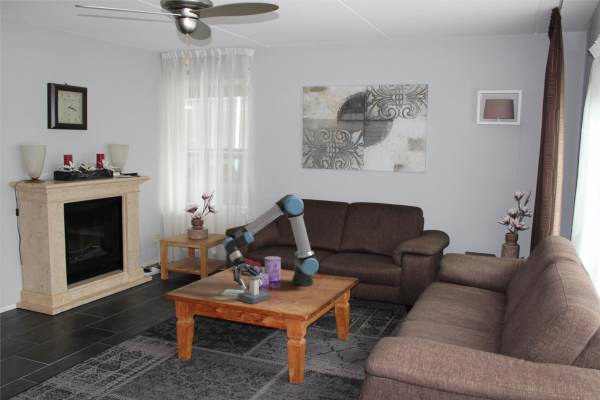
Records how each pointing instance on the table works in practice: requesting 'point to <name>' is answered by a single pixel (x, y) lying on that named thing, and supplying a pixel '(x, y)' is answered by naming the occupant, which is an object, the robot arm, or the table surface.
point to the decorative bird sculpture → (251, 263)
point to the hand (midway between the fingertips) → (253, 287)
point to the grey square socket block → (254, 297)
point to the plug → (254, 285)
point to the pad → (232, 292)
